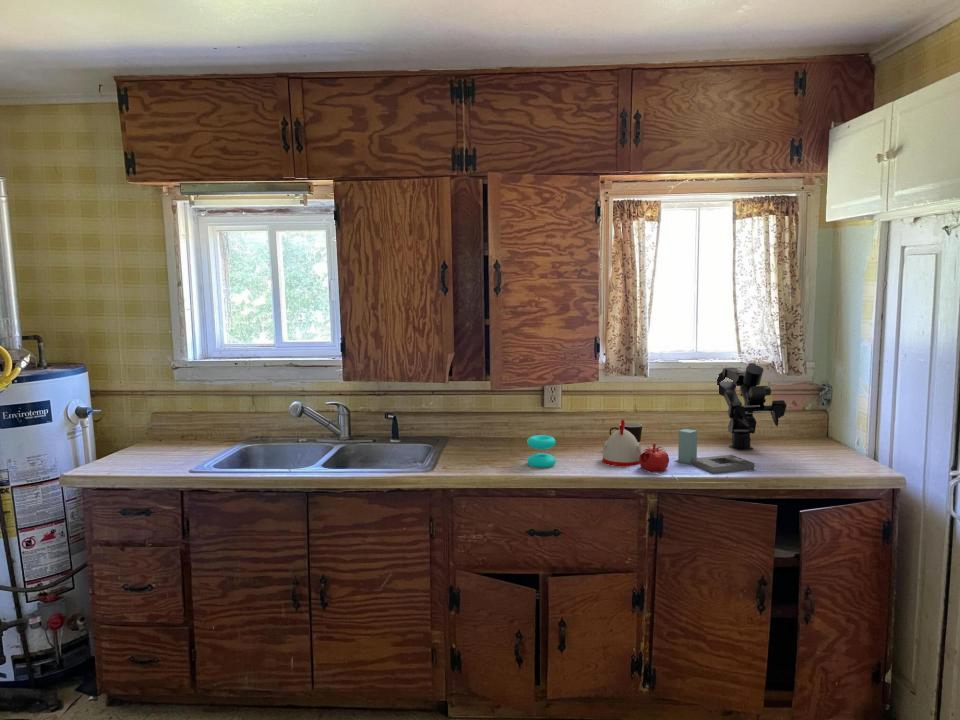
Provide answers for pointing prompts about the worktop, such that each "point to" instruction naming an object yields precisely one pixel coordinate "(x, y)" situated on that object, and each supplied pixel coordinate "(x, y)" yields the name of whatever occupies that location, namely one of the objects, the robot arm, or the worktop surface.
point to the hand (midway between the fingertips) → (763, 425)
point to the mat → (683, 462)
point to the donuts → (541, 459)
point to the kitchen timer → (622, 448)
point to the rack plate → (722, 464)
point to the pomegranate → (654, 459)
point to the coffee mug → (632, 430)
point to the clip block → (687, 445)
